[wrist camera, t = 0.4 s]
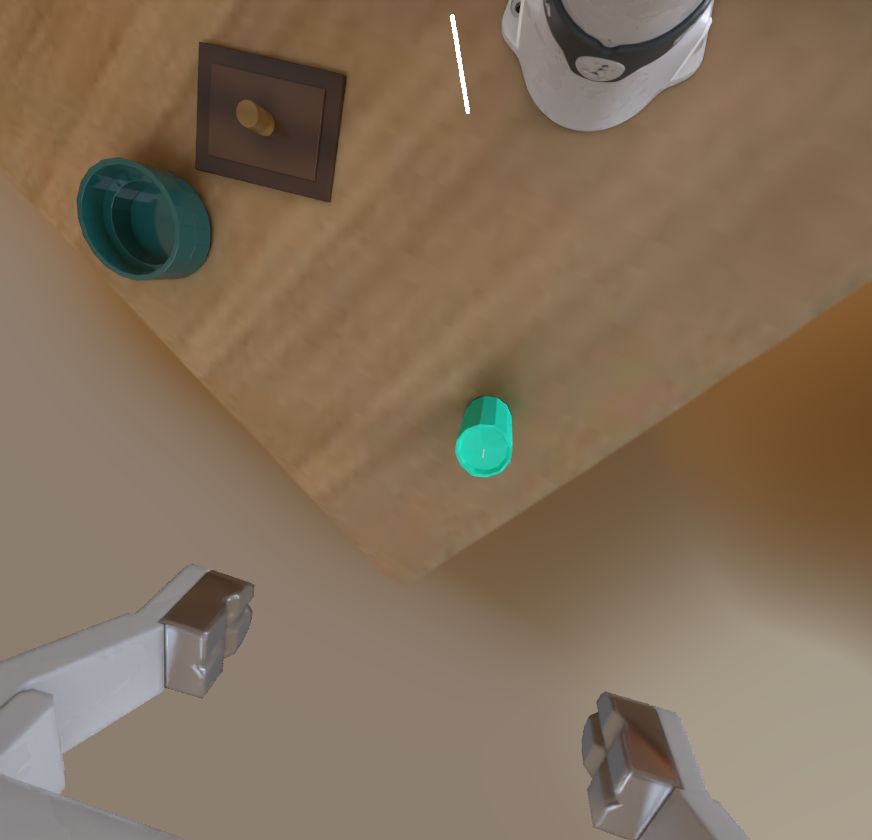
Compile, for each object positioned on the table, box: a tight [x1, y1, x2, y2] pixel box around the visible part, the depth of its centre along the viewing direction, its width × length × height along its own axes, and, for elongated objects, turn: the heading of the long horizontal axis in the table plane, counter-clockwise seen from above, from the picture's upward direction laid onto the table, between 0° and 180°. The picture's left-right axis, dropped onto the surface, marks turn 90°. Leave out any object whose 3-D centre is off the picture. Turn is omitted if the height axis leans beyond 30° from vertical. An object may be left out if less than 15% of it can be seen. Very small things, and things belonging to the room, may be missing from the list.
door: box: [196, 42, 346, 202], centre depth 46 cm, size 12×16×4 cm
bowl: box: [77, 158, 211, 281], centre depth 51 cm, size 12×12×6 cm
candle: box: [455, 396, 512, 477], centre depth 50 cm, size 6×6×12 cm
